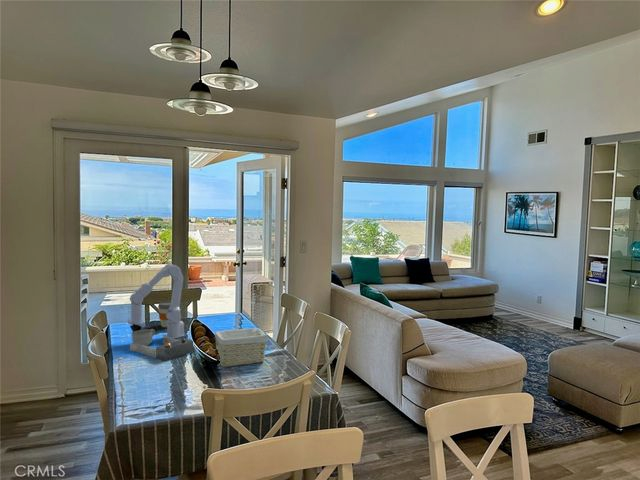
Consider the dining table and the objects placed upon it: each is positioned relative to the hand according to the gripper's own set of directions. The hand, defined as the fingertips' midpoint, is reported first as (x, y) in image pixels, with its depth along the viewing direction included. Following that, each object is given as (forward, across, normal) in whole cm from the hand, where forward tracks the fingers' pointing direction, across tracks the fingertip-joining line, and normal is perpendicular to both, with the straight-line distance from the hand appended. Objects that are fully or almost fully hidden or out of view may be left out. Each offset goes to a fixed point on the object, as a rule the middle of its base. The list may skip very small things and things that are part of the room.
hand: (136, 337), depth 244 cm
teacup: (+3, +7, 0) cm, 8 cm away
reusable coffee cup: (+3, -17, +34) cm, 38 cm away
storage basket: (+3, +69, +14) cm, 70 cm away
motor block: (+3, +25, 0) cm, 25 cm away
